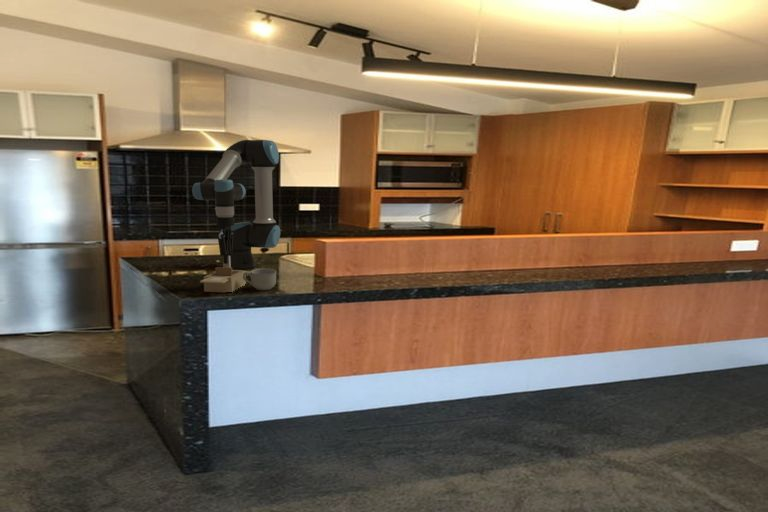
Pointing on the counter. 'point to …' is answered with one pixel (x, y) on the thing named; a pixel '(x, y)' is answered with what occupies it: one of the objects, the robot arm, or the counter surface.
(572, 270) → the counter surface
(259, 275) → the teacup
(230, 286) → the box
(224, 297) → the counter surface
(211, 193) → the robot arm
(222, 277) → the lid
